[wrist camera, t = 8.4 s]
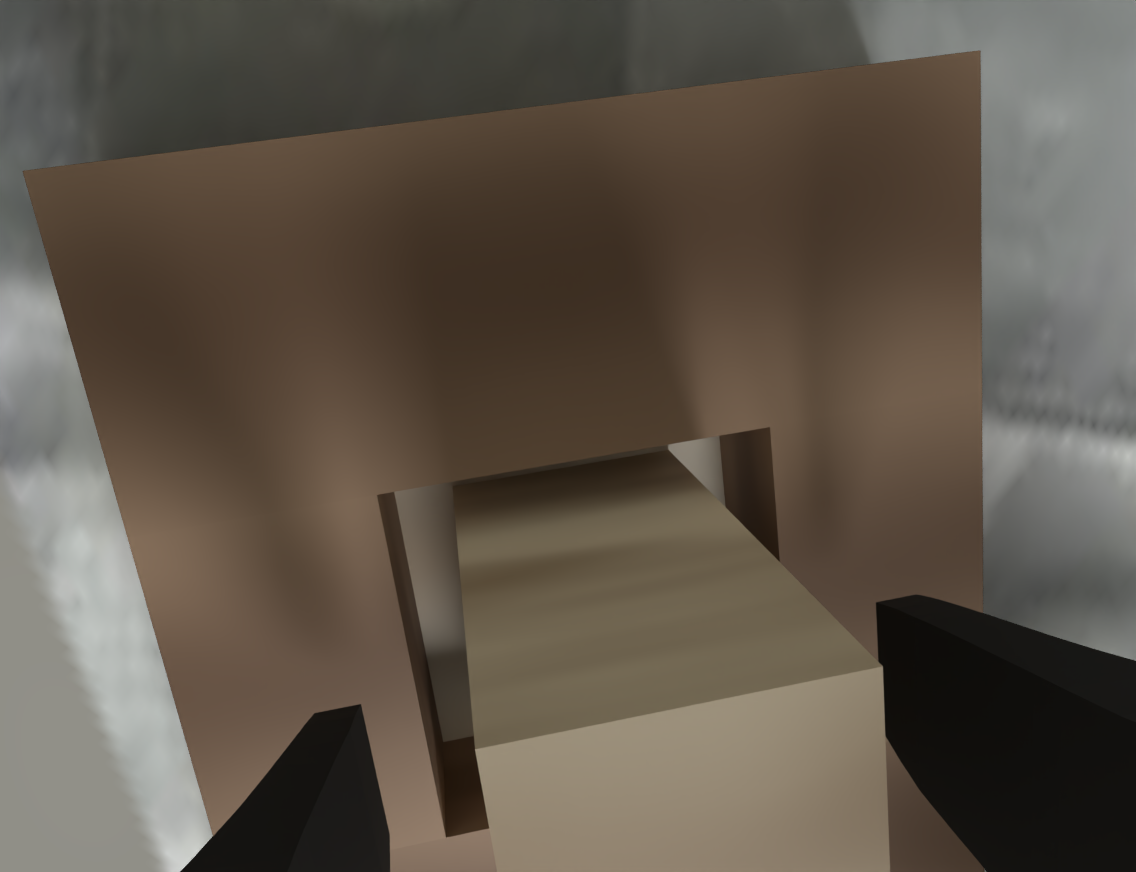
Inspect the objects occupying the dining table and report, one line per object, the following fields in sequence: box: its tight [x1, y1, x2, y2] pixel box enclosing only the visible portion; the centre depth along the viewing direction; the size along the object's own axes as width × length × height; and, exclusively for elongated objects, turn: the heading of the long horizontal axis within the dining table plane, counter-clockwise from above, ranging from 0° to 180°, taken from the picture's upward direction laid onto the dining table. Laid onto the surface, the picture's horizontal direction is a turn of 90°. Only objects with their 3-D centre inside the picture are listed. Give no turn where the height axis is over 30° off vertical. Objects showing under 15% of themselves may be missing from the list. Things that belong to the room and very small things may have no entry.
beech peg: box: [452, 450, 890, 872], centre depth 13 cm, size 4×4×8 cm
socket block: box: [23, 51, 984, 872], centre depth 15 cm, size 16×13×3 cm
